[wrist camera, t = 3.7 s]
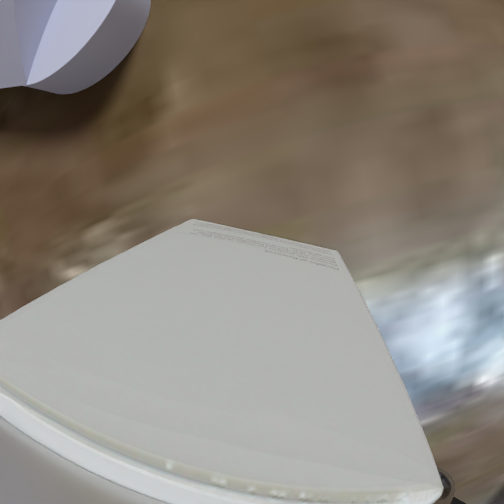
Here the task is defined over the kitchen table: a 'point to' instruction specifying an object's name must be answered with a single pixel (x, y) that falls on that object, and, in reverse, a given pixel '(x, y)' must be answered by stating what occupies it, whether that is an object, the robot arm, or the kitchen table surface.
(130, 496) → the robot arm
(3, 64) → the wedge on round base
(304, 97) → the kitchen table surface
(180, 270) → the supplement box
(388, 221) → the kitchen table surface
